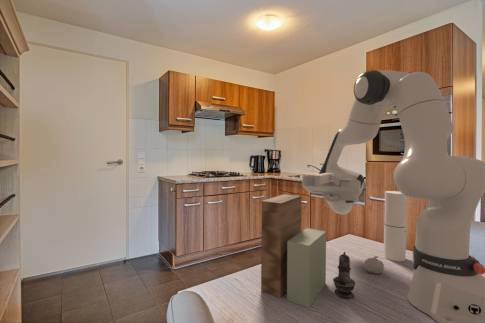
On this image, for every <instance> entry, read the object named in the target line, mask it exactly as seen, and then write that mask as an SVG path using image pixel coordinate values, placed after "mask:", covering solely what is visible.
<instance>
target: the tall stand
mask: <svg viewBox="0 0 485 323" xmlns="http://www.w3.org/2000/svg"><path fill="white" fill-rule="evenodd" d="M260 227H261V231H260V232H261V233H260V234H261V235H260V236H261V244H260V245H261V247H260V249H261V250H260V251H261V255H260V256H261V257H260V262H261V263H260V264H261V265H260V270H261V271H260V274H261V275H260V292H261V293H265V294H267V295H268V294H269V295H270V296H273V297H276V298H281V297H283V295H284V294H285V293H287V241H288V240H290V239H291V238H293V237H294V236H296V235H297V234H299V233H300V232H302V195H296V194H280V195H277V196H273V197H270V198H267V199H264V200H261V226H260Z"/></svg>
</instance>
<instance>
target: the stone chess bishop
mask: <svg viewBox="0 0 485 323" xmlns="http://www.w3.org/2000/svg"><path fill="white" fill-rule="evenodd" d="M346 253H347V252H346V251H344V252H343V254H340V255H339V257H338V265H337V268H338V274H337V276H335V277H333V279H332V281H333V284H334V286H335V288H336V289H334V291H333V293H334V296H336V297H338V298H340V299H344V300H351V299H354V297H355V294H354V292H353V290H354V289H355V286H356V280H354V279H352V278H351V271H352V268H351V259H350V258H351V257H350V256H349V255H347V254H346Z"/></svg>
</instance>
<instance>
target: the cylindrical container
mask: <svg viewBox="0 0 485 323" xmlns="http://www.w3.org/2000/svg"><path fill="white" fill-rule="evenodd" d="M407 199H408V196H406V195H404V194H402V193H401V192H400V191H399V190H385V191H384V223H383V225H384V228H383V229H384V230H383V257H384V258H385V259H387V260H390V261H394V262H405V261H406V253H407V252H406V251H407V250H406V248H407V246H406V245H407V244H406V243H407V208H408V207H407V204H408V203H407V201H408V200H407Z"/></svg>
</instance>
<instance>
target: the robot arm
mask: <svg viewBox="0 0 485 323" xmlns="http://www.w3.org/2000/svg"><path fill="white" fill-rule="evenodd" d="M353 95H354V97H355V98H354V100H353V102H352V105H351V108H350V110H349V111H350V112H349V115H348V120H347V123H346V124H345V125H344V127H343V128H340V129H339V130H338V131H337V132H336V134H335V135H334V138H333V140H332V143H331V145H330V146H329V147H330V148H329V149H328V153H327V154H326V158H325V160H324V163H323V164H322V167H321V168H320V170H319V173H318V174H322V173H334V175H330V177H329V180H330V181H332V182H328V183H325V184H322V185H320V186H319V187H316V186H303V179H302V182H301V187H302V188H303V190H305V191H306V192H308V193H311V194H320V195H321V196H322V198H323V199H324V201H325V202H326V203H327V205H328V207H329V208H330V209H331V210H332V211H333V212H334V213H336V214H338V215H347V214H349V213H350V212H351V211H352V209H353V207H354V206H353V204H354V203H358V202H359V199H360V197H361V196H362V195H363V193H364V191H365V188H366V183H365V178H364V176H363V175H362V174H361V173H358V172H356V171H353V170H350V169H347V168H345V167H342V166H339V164H338V162H339V159H340V156H341V154H342V152H343V149H344V148H345V147H346V146H351V145H360V144H361V145H362V144H365V143H369V142H370V141H372V140H373V139H374V138H376V137H377V135H378V134H379V130H380V127H381V123H382V119H383V114H384V112H385V110H386V109H387V108H388V107H393V108H395V109H396V111H397V116H398V119H399V123H400V126H401V130H402V135H403V138H404V153H403V155H402V159H401V160H400V161H399V163H398V164H397V165H396V167H395V169H394V173H393V181H394V185H395V187H396V189H397V191H398V192H401V193H402V194H404V195H406V196H407V197H409V198H414V199H418V200H419V199H420V200H429V201H428V203H427V205H426V207H425V208H424V210H423V211H422V212H420V214H418V215H417V217H416V220H415V243H414V244H415V245H414V246H413V249H412V267H413V274H412V279H411V284H410V287H409V289H408V292H407V295H406V299H407V300H408V302H409V303H410V305H411V304H412V306H413V307H415V308H417V309H418V310H420V311H421V312H423V313H425V314H427V315H428V316H430V317H431V318H432V319H433V320H434V321H436V322H437V323H485V276H484V275H485V266H484V265H483V264H482V263H481V262H480V261H479V260H478V259H476V257H475V256H471V255H470V238H471V227H472V222H473V218H474V216H475V213H476V211H477V208H478V205H479V203H480V200H481V199H482V197H483V195H484V194H485V161H484V160H480V159H478V158H475V157H470V156H466V155H449V153H448V138H449V137H450V136H451V135H452V134H453V132H454V128H455V127H454V124H453V121H452V118H451V115H450V113H449V110H448V107H447V104H446V102H445V99H444V97H443V94H442V92H441V90H440V88H439V86H438V85H437V83H436V82H435V80H434V78H433V77H432V75H430V74H429V73H427V72H425V71H415V72H410V71H409V72H406V71H397V70H393V69H389V70H388V69H387V70H385V69H384V70H383V69H382V70H376V69H373V70H366V71H363V72H362V73H360V74H359V76H357V78H356V80H355V82H354V85H353Z"/></svg>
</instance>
